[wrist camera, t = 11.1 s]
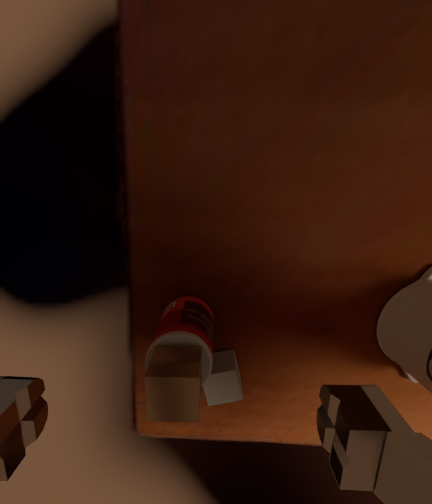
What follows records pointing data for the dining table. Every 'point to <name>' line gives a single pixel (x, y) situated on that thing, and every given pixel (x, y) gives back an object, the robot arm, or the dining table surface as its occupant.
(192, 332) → the canned food
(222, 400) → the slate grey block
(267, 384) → the dining table surface
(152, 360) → the walnut block
